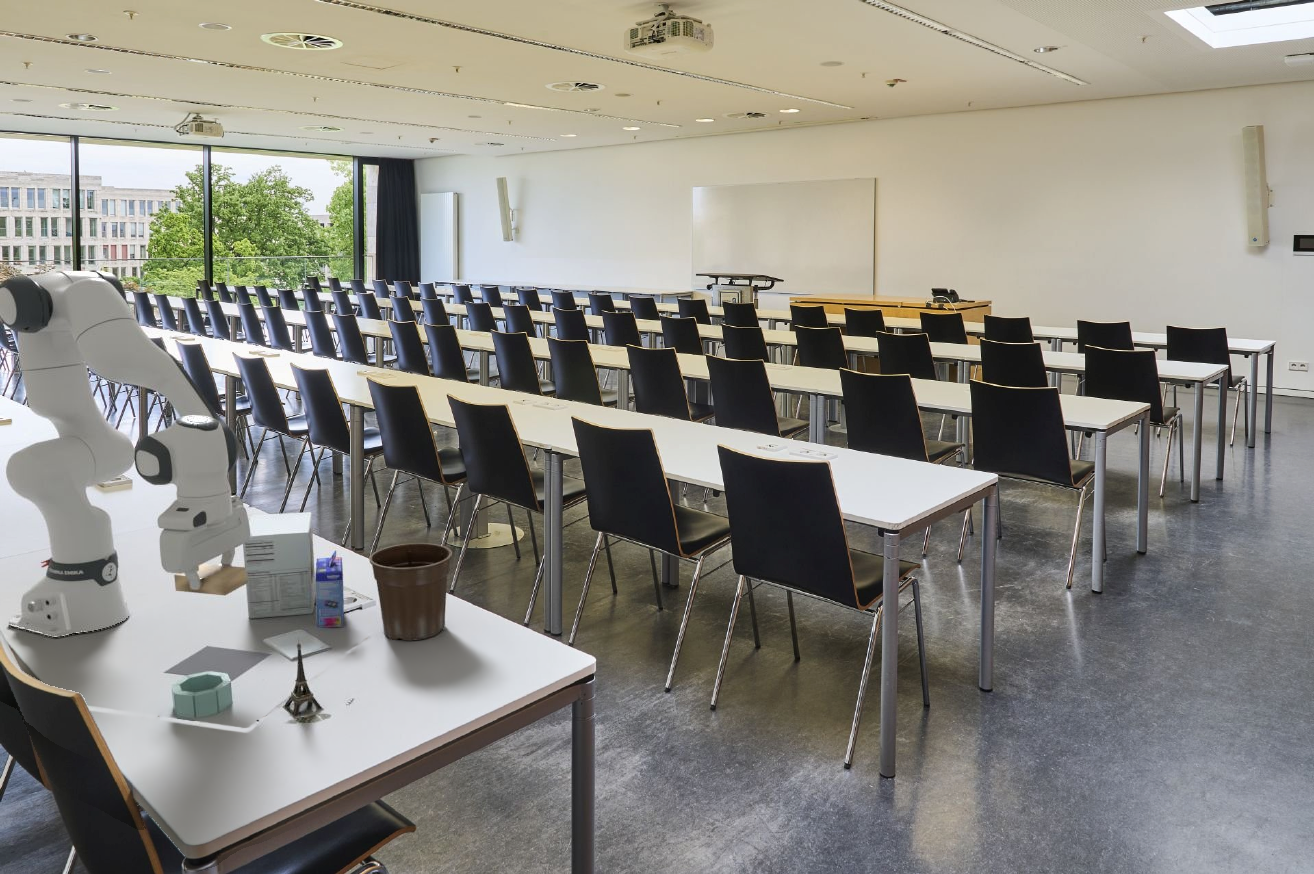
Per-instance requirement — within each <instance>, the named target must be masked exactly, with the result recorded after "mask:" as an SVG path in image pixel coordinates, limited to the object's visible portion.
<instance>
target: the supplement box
mask: <svg viewBox="0 0 1314 874" xmlns="http://www.w3.org/2000/svg"><path fill="white" fill-rule="evenodd" d="M248 520H249V526H250V538H249V541H248V542H246V543H244V544H242V547H243V550H242V551H243V559H244V563H243V564H244V567H246V570H247V582H248V583H247V584H245V587H246V588H245V589H246V602H247V614H248V619H249V620H251V619H263V618H272V617H273V618H274V617H275V618H276V617H286V616H298V615H299V616H300V615H311V614H313V612H314V606H315V603H316V575H315V574H316V568H315V556H314V554H315V553H314V540H313V539H314V538H313V513H312V512H311V511H308V512H307V511H306V512H289V513H288V512H287V513H269V514H267V513H266V514H254V515H253V514H251V515H250V516H249V517H248Z"/></svg>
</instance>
